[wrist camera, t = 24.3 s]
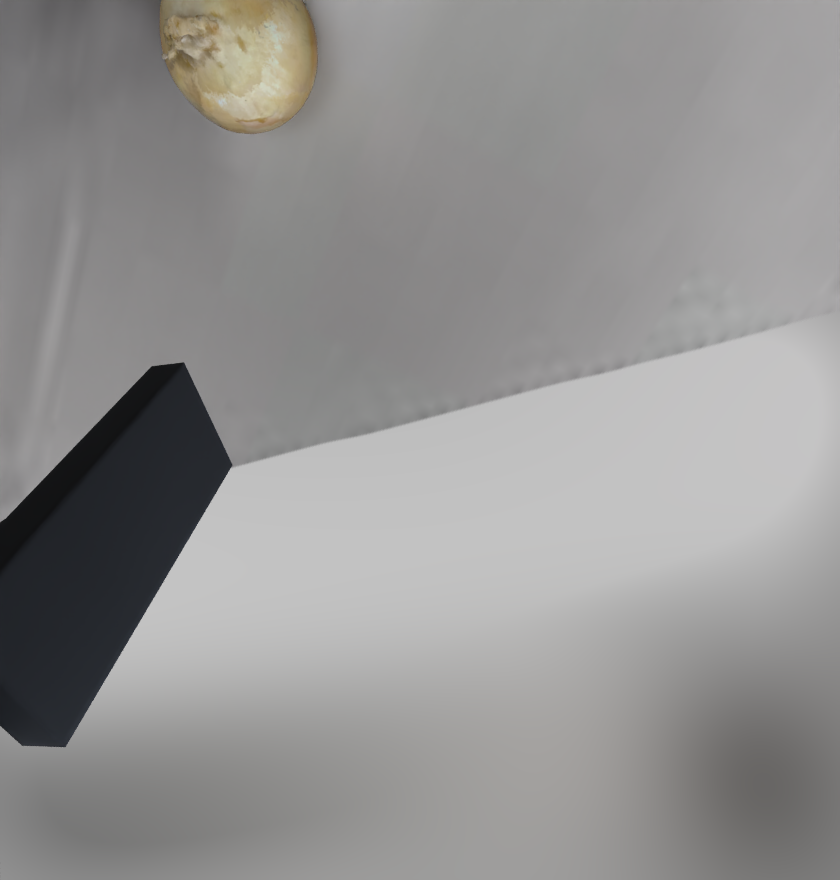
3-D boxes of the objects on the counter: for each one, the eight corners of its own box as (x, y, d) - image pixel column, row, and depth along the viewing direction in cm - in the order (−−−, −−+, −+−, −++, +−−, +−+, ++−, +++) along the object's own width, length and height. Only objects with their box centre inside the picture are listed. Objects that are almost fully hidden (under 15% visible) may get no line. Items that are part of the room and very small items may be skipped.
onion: (300, -69, 31) (252, -81, 25) (347, 104, 35) (315, 128, 30) (164, -23, 33) (90, -24, 27) (224, 136, 37) (172, 164, 31)
